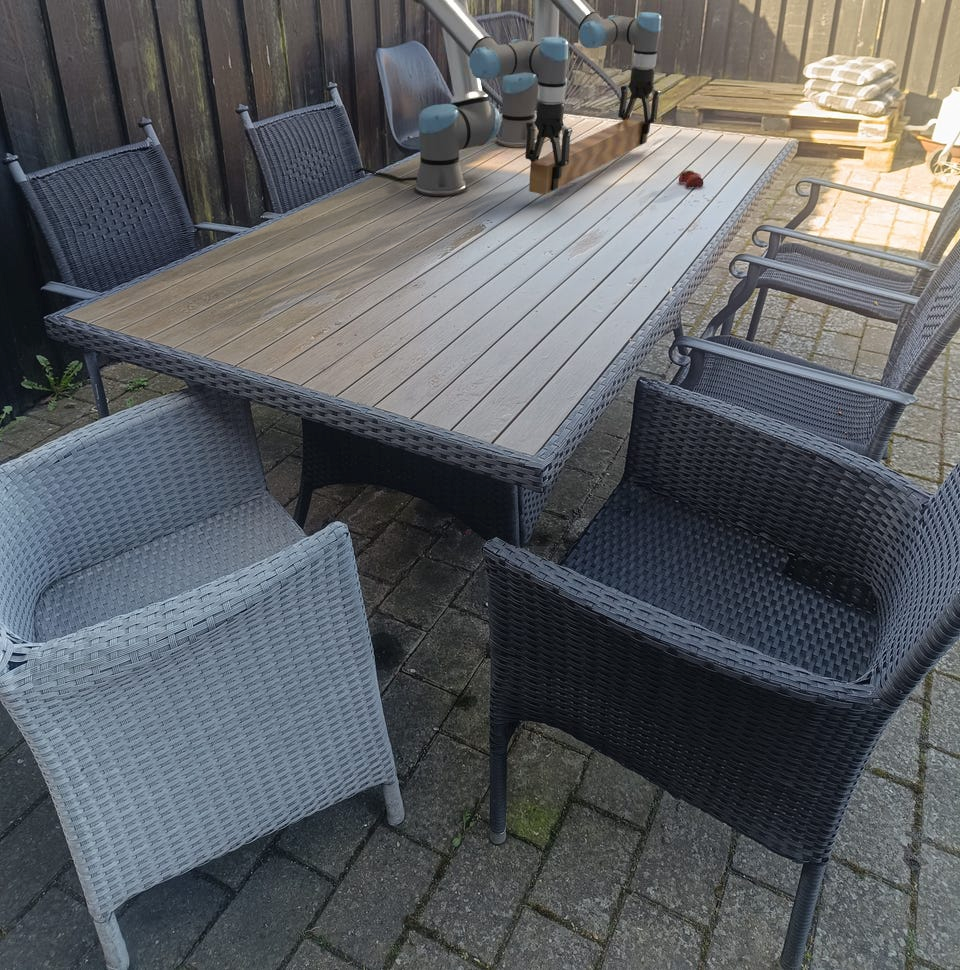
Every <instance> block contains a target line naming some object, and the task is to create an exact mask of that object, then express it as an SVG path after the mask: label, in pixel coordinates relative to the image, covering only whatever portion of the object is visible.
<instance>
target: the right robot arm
mask: <svg viewBox="0 0 960 970" xmlns="http://www.w3.org/2000/svg"><path fill="white" fill-rule="evenodd" d="M533 3H534V4H533V6H534V9H533V11H534V12H533V42H534V43H539V44H540V42H541V39H542V38H545V37H559V29H560V28H559V25H560V13H561V14H562V15H563V16H564V18H566V19H567V20H568V22H569V23H570V24H571V25H572V26H573V28H575V29H576V30H577V31H578V39H579V43H580V44H581V45H582V47H584V48H586V49H599V48H602V47H606V46H612V45H618V44H625V45H631V46H633V54H632V60H631V61H632V62H631V66H632V67H631V71H630V81H629V83H628V84H623V85H621V86H620V93H621V95H620V102H619V108H618V115H617V117H618V118H619V119H621V120H622V121H624V120H626V119H628V118H630V117H631V114H632V112H633V110H634V109H633V108H634V106H635V105H636V101H637V99H640V100H641V103H642V109H643V116H644V119H645V123H644V124H643V125H642V132H641V140H640V144H641V145H640V146H642V145H645V144H646V143H645V141H646V134H648V135H649V133H650V130H651V124H653V123H655V122H657V119H658V111H659V110H658V109H659V99H660V96H661V94H662V90H661V89H657V88H655V86H654V80H655V74H656V73H655V72H656V69H655V67H656V65H657V56H658V46H659V41H660V35H661V30H662V29H661V27H662V26H661V25H662V15H661V14H660V13H658V12H652V11H651V12H650V11H643V12H642V11H641V12H639V13H638V15H637V17H636V18H635V17H630V16H629V17H628V16H623V15H620V14H618V15H614V14H611V15H608V16H607V18H602V17H601V16H600V15H599V14H598V12H596V10H594V9H593V7H592V6H591V5H590V4H589V3H588V1H586V0H534V2H533ZM502 77H503V78H502V85H501V121H500V127H499V131H498V133H497V135H496V137H495V138H496V144H498V145H499V146H503V147H508V148H526V143H527V127H526V123H528V122H531V121H535V120H536V118H535V117H536V109H537V102H538V101H539V100H538V99H537V93H538V75H536V74H532V73H519V74H513V75H506V76H502ZM567 89H568V78H567V77H566V87H565V94H566V93H567ZM629 91H630V93H631V94H630V97H629V101H628V95H629V93H628V92H629ZM651 93H652V94H651ZM650 94H651V95H652V99H651V105H650ZM627 101H628V103H627ZM650 106H651V107H650ZM538 132H539V131H538V129H537V127H536V129H535V140H534V146H535V144H536V141H537V135H538Z"/></svg>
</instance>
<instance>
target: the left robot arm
mask: <svg viewBox="0 0 960 970" xmlns="http://www.w3.org/2000/svg"><path fill="white" fill-rule="evenodd" d="M413 2H414V3H416V4H418V5H422V6H423V7H424V8H425V10H426V11H427V12H428V13H429V14H430V15H431V16H432V18H434V19H435V21H436V22H437V23H438V24H439V25H440V27H441V30H442V31H441V32H442V37H443V42H444V48H445V52H446V53H445V54H446V58H447V63H448V70H449V74H450V81H451V86H452V92H453V97H452V99H451V100H450V102H449V103H441V104H434V105H433V104H432V105H430V106H428V107H426V108H424V109H422V110H421V111H420V112H419V116H418V134H419V135H418V136H419V157H420V158H419V159H420V161H419V162H420V164H419V168H418V172H417V176H409V177H407V176H406V177H400V176H396V175H393V174H389V173H385V172H379V171H376V170H372V169H370V168H367V167H358V168H357V169H356V170H355V172H354V173H355V174H359V173H360V172H366V173H369V174H372V175H374V176H380V177H385V178H390V179H393V180H396V181H399V182H409V181H415V185H414V186H415V192H417V193H418V194H420V195H424V196H430V197H450V196H455V195H459V194H461V193H463V192H464V191H466V181H465V179H464V176H463V172H462V169H461V165H460V151H461V150H466V149H471V148H475V147H481V146H484V145H487V144H490V143H491V142H493V141H494V140H495V139H496V138H497V137H496V135H497V134H498V131H499V128H500V125H501V117H500V111H499V110H498V108H497V107H496V105H495V104H494V103H493V102H490V99H489V94H487V93H486V92H485V91H484V90H483V88H482V82H481V80H492V79H496V78H501V77H504V76H506V75H513V74H519V73H532V74H536V75H538V93H537V99H538V100H539V101H538V102H537V108H536V110H535V116H536V118H535V121H531V122H528V123H526V127H527V143H526V147H525V155H524V157H525V159H526V160H529V161H530V164H531V163H532V162H534V161H536V160H538V159H540V155H541V152H542V150H543V146H544V143H545V140H546V138H547V139H549V141H550V144H551V148H552V153H553V154H554V161H555V166H554V167H553V170H552V184H551V190H552V192H554V191H556V190H558V189H559V188H558V179H559V178H561V174H562V166H565V165H567V164H568V163H569V149H570V145H571V135H572V133H573V128H572V127H567V126H566V125H565V124H564V121H563V119H564V114H565V103H564V101H565V99H566V93H565V87H566V78H567V72H568V70H567V69H568V63H569V41H568V40H567V39H566V38H564V37H559V36H558V37H545V38H542V39H541V42H540V44H539V43H534V41H529V40H527V39H523V38H522V39H518V38H516V39H512V40H510V42H508V43H503V44H498V43H497V42H496V41H495V40H494V39H493V38H492V37H491V36H490V35H489V33H488V32H487V31H486V30H485V29H484V28H483V27H482V26H481V25H480V23H478V21H477V20H476V19H475V18H474V17H473V15H471V13H470V11H469V3H468V0H413ZM536 128H537V131H538V135H537V141H536V144H535V145H534V140H535V129H536ZM560 133H561V135H562V138H561V136H560ZM560 141H561V142H560ZM561 149H562V153H561ZM376 172H378V173H376ZM374 173H376V174H374Z"/></svg>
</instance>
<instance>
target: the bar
mask: <svg viewBox="0 0 960 970" xmlns="http://www.w3.org/2000/svg"><path fill="white" fill-rule="evenodd" d="M644 123H645V119H644V115H636V114H635V115H632V116H630V117H629V118H628V119H626V120H624V121H623V120H621V121H619V122H617V123H614V124H613V125H611V126H609V127H606V128H604V129H602V130H599V131H598V132H594V133H593V134H591V135H589V136H586V137H584V138H582V139H580V140H578V141H575V142H574V143H570V149H569V163H568V164H567V165H565V166H562V174H561V178H559V179H558V189H559V188H562V187H563V186H565V185H567V184H569V183H571V182H573V181H575V180H577V179H578V178H581V177H583V176H585V175H587V174H589V173H590V172H592V171H594V170H596V169H598V168H600V167H602V166H604V165H605V164H608V163H610V162H611V161H613V160H615V159H618V158H620V157H622V156H623V155H625V154H627V153H629V152H631V151H632V150H635V149H636V148H638V147H640V146H642V145H641V144H640V140H641V132H642V125H643V124H644ZM648 136H649V133H648V134H646V141H645V143H644V144H646V143H647V142H648ZM561 153H562V148H561ZM554 166H555V161H554V154H553V152H551V153H549V154H547V155H544V156H542V157H539V159H538V160H536V161H534V162H532V163H531V162H530V166H529V167H530V169H529V183H528V184H529V185H528V192H531V193H535V194H540V195H544V196H546V195H548V194H550V193H552V192H553V191H552V190H551V184H552V170H553V167H554Z"/></svg>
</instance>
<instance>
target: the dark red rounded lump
mask: <svg viewBox="0 0 960 970" xmlns="http://www.w3.org/2000/svg"><path fill="white" fill-rule="evenodd" d="M682 183H685V188H686V189H689V188H691V189H692V188H700V187H701V188H702V187H703V186H704V179H703V178H702V175H701V174H700V173H698V172H695V171H694V170H690V169H689V170H684V171H682V172H681V173H680V174H679V177H678V184H682Z"/></svg>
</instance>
